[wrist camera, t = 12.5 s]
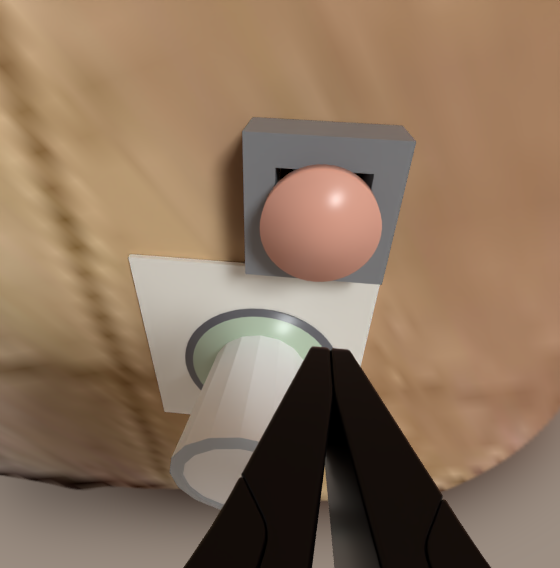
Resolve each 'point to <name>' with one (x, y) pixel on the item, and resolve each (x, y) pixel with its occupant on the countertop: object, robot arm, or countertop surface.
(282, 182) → the button
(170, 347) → the white square board
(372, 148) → the button housing
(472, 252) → the countertop surface
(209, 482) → the shot glass
